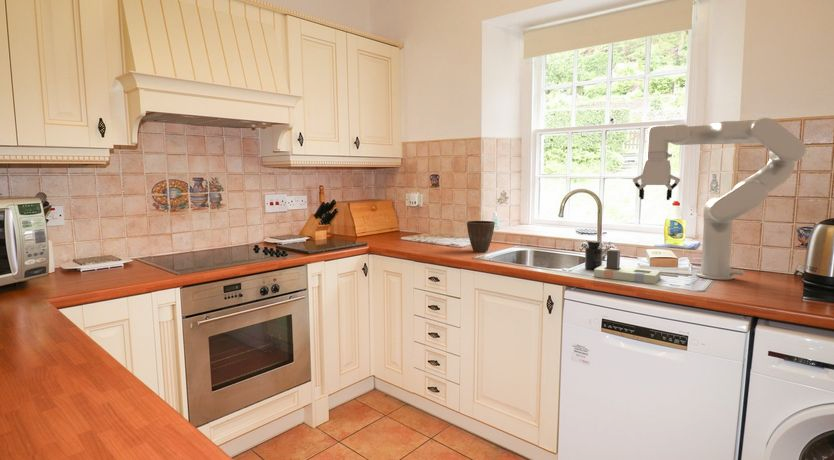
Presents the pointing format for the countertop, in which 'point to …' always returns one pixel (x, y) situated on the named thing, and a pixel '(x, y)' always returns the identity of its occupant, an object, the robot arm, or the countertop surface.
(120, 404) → the countertop surface
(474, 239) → the plant pot
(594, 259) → the supplement bottle
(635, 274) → the socket board
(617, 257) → the dark grey tall block
